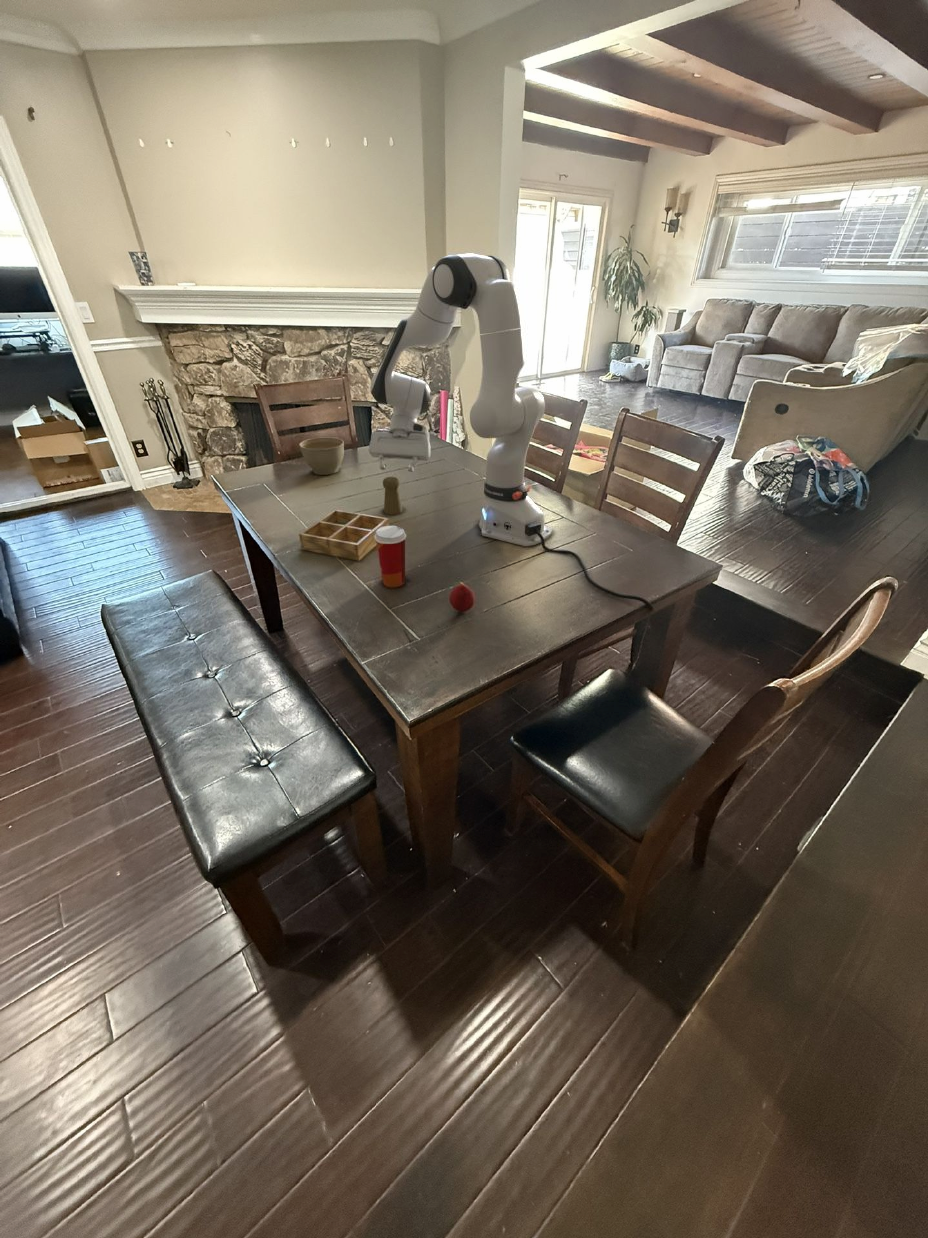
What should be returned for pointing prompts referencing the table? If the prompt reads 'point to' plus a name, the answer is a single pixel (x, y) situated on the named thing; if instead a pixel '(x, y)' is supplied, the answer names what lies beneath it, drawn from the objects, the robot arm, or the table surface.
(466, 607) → the onion
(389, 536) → the paper cup
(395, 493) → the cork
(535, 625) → the table surface
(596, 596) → the table surface
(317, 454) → the planter bowl
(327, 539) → the wooden compartment tray
